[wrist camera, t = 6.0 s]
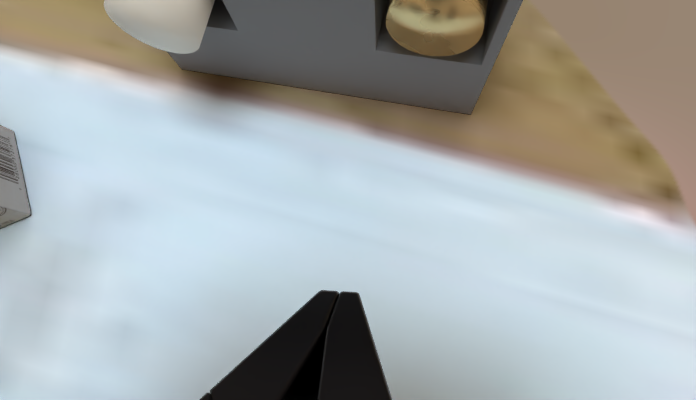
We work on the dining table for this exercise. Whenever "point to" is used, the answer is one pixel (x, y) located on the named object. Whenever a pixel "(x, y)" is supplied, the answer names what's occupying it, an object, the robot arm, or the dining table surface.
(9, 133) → the coffee box
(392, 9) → the brass button
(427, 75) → the console
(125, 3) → the cream button
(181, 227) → the dining table surface
